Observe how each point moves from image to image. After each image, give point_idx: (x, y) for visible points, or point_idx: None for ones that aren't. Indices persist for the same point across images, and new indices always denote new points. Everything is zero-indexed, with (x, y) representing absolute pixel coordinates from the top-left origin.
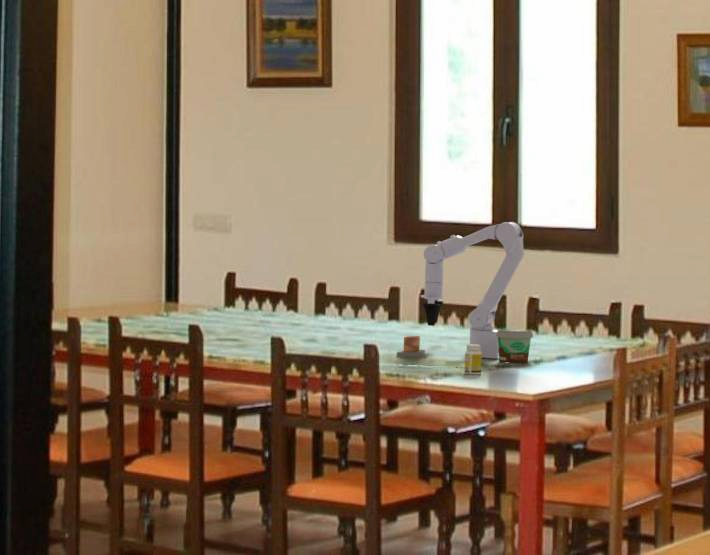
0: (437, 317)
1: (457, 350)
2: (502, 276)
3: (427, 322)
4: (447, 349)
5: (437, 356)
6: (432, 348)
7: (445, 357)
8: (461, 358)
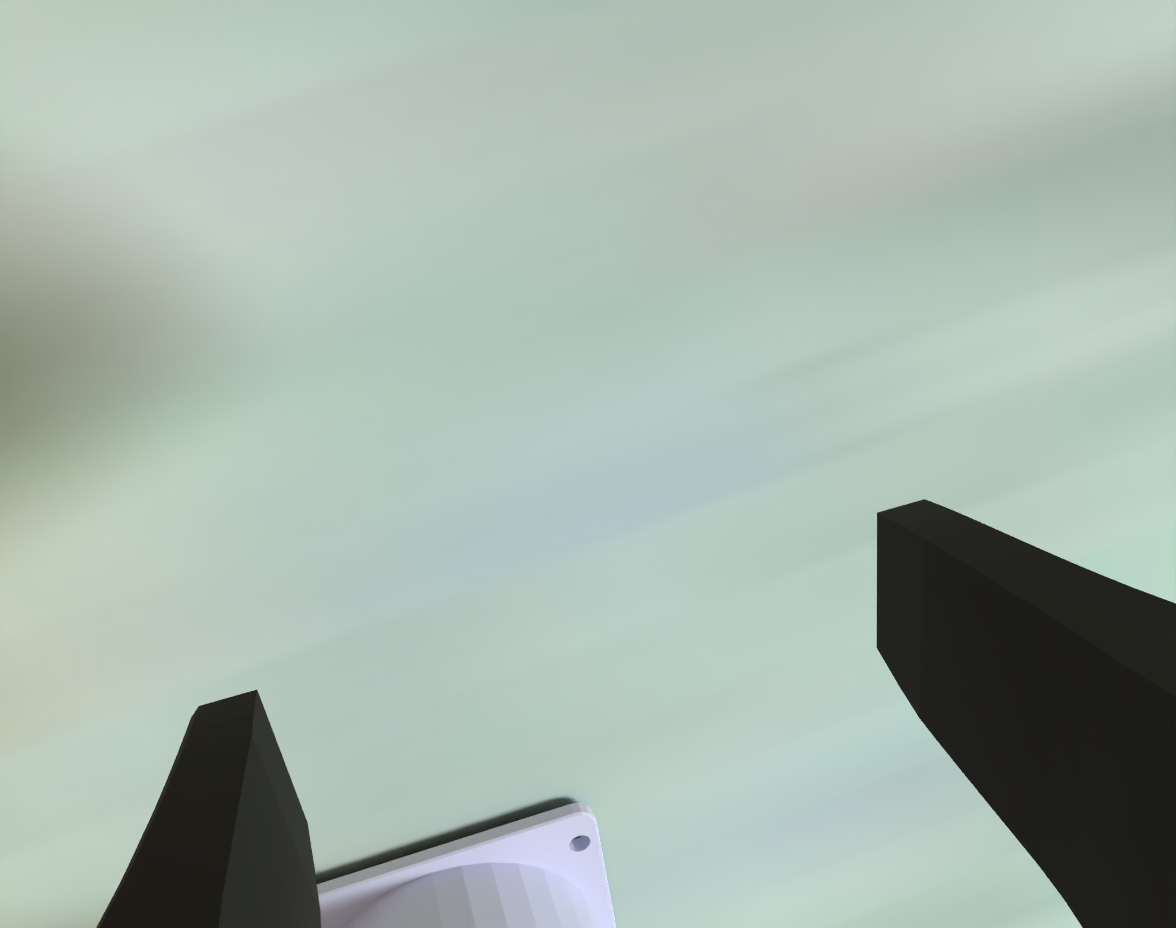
0: (970, 770)
1: (997, 517)
2: None
3: (174, 762)
4: (1065, 373)
5: (107, 564)
6: (1124, 138)
7: (71, 697)
8: None
